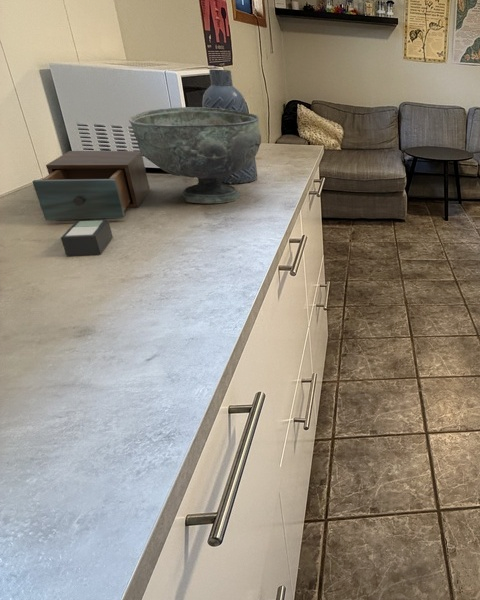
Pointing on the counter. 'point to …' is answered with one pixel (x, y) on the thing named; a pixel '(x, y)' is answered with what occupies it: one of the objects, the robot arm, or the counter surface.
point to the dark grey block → (87, 238)
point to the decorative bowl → (199, 146)
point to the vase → (230, 99)
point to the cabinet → (109, 161)
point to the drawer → (83, 194)
